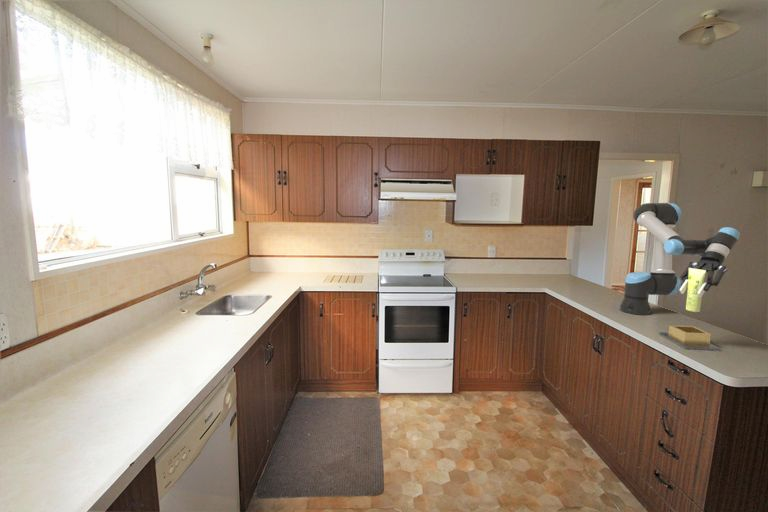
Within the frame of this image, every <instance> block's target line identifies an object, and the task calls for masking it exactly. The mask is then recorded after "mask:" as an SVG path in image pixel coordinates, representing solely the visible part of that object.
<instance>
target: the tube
mask: <svg viewBox="0 0 768 512" xmlns="http://www.w3.org/2000/svg"><path fill="white" fill-rule="evenodd" d="M706 273H707V272H706V270H700V269H696V268H689V275H688V287H687V289H686V290H687V293H686V303H685V310H686V311H689V312H693V313H699V312H701V306H702V305H701V304H702V297H703V296H702V297H699V296H698V294H697V293H698V291H699V290H700V288H701V287H702V285H703V284H704V282H705V279H706Z"/></svg>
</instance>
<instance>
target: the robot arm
mask: <svg viewBox="0 0 768 512" xmlns="http://www.w3.org/2000/svg"><path fill="white" fill-rule="evenodd" d="M682 215H683V214H682V210H681V207H680V206H678V204H676V203H673V202H652V203H651V202H647V203H642V204H641V205H638V206H637V207H636V208H635V209H634V211H633V214H632V217H633V220H634V222H635V223H636V224H637V225H638V226H640V227H643V228H645V229H646V231H648V232H650V233H651V234H652V235H653V256H652V257H653V258H652V259H653V262H652V263H653V264H652V265H653V269H652V270H651V271H649V272H645V271H635V272H629V273H627V275H626V277H625V280H624V282H625V284H624V296H623V299H622V300H621V303H620V304H619V308H618V309H619V310H620V311H621V312H624V313H626V314H632V315H637V316H638V315H639V316H648V315H650V314H651V307H650V306H651V305H650V303H649V297H650V295H651V296H652V295H653V296H672V295H675V294H677V293H678V292H680V294H681V295H683V294H684V293H685V292H686V290H688V275H689V268H694V269H700V270H706V273H707V279H706V282H705V281H704V284H703V285H702V287H701V288H700V290H699V291H698V293H697V294H698V296H699V297H703V295H704V294H705V292H708V291H709V290H710V288H712V286H715V287H718V286H719V284H720V282H721V280H722V278H723V277H724V275H725V273H727V272H728V268H727V266H726V265H723V263H724V262H725V260H726V258H727V257H728V255H729V254H730V252H731V251H732V249H733V247H734V246H735V244H736V243H737V242H738V239H739V238H740V236H741V234H740V231H739V230H737V229H735V228H734V227H730V226H729V227H727V226H726V227H721V228H720V229H719V230H718V231H717V233H716V234H715V235H713V236H711V237H708V238H706V239H685V238H683V237H682V236H681V235H679V234H678V233H677V232H676V231H675V230H673V228H675V227H676V226H677V223H678V222H680V221H681V219H682ZM679 255H684V256H685V255H690V256H691V255H692V256H696V257H698V258H700V260H699V261H697V262H693V261H690V262H689V263H688V266H687V267H686V269H685V270H684V271H683V272H682V273H681V274H680V276H678V275H676V271H674V270H673V256H679ZM722 265H723V266H722ZM716 271H717V273H716V275H715V272H716ZM714 275H715V276H714ZM681 281H682V282H681Z"/></svg>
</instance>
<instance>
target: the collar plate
mask: <svg viewBox="0 0 768 512" xmlns="http://www.w3.org/2000/svg"><path fill="white" fill-rule="evenodd" d="M668 327H669V329H668V332H660V331H659V332H658V335H659V336H662V337H663V338H665V339H666V340H668V341H670V342H672V343H673V344H675V345H677V346H679V347H681V348H683V349H684V350H692V349H694V351H696V350H697V351H698V350H699V351H716V352H717V351H720V352H721V351H722V348H721V347H720V346H717V345H715V344H712V343H711V338H712V336H711V335H712V334H711V333H709V332H707V331H706V330H705V331H704V330H703V329H701V328H698V327H696V326H694V325H669V326H668Z"/></svg>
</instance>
